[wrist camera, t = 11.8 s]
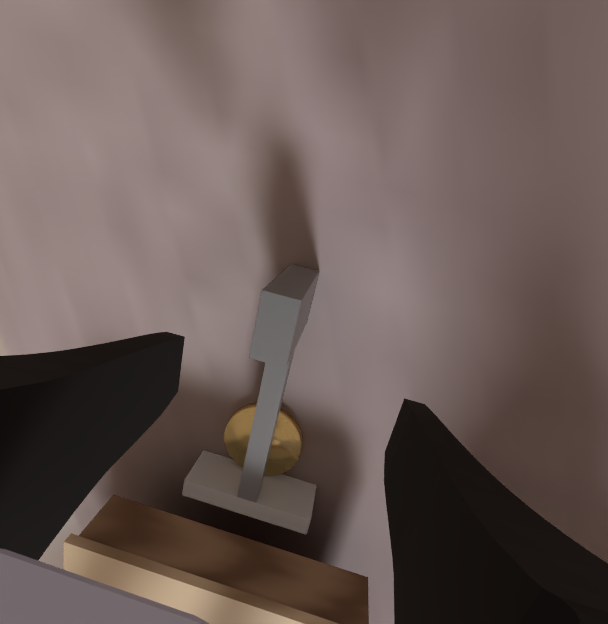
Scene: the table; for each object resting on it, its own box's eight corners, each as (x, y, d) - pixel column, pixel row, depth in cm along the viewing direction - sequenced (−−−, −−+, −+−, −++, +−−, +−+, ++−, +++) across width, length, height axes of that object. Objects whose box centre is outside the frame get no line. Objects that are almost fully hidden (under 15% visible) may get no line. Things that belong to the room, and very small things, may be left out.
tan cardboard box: (372, 524, 24) (376, 648, 17) (329, 636, 28) (318, 773, 21) (142, 452, 25) (63, 541, 18) (131, 569, 29) (63, 678, 22)
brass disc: (277, 388, 22) (274, 396, 21) (317, 450, 23) (315, 460, 22) (215, 417, 24) (209, 426, 23) (254, 474, 25) (250, 485, 24)
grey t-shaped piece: (377, 285, 19) (383, 322, 13) (312, 497, 24) (297, 589, 18) (235, 249, 20) (184, 269, 14) (201, 463, 25) (153, 541, 19)
